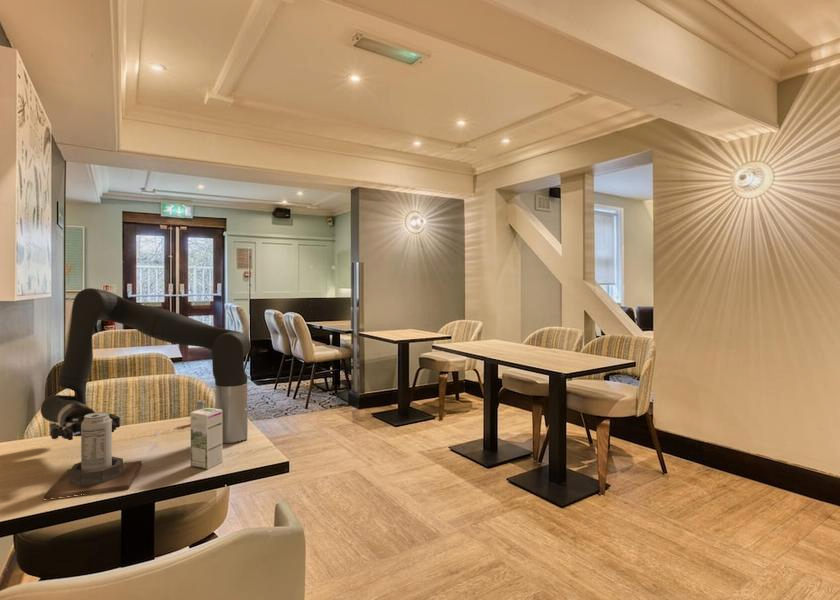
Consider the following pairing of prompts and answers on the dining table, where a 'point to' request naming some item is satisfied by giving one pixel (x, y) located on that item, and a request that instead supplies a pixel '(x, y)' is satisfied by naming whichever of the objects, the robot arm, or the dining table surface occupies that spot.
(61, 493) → the can holder
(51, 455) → the dining table surface
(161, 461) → the dining table surface
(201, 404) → the rook chess piece
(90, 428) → the energy drink can
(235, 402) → the robot arm
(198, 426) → the syrup box
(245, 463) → the dining table surface
